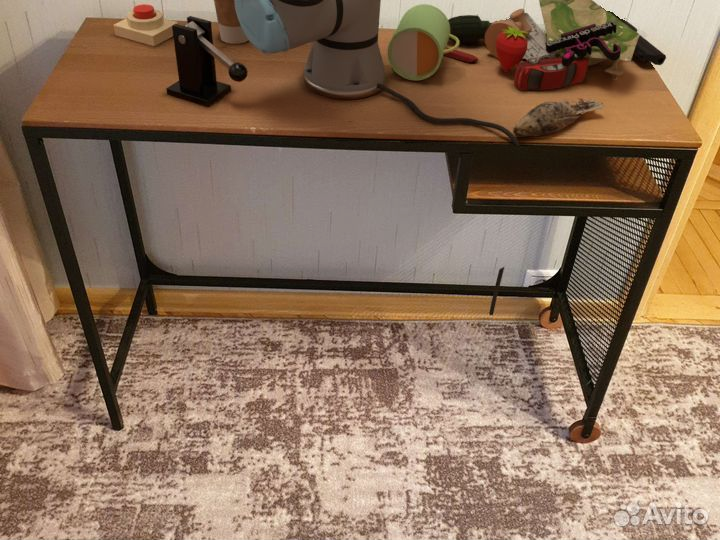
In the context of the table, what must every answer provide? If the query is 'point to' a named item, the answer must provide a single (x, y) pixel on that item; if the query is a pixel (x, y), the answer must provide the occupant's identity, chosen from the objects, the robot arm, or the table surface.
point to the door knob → (503, 24)
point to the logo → (585, 47)
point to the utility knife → (461, 55)
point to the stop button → (144, 11)
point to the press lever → (220, 56)
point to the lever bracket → (195, 66)
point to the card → (577, 10)
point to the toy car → (549, 73)
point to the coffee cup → (229, 22)
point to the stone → (536, 42)
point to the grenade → (468, 28)
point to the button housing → (145, 28)
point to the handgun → (645, 48)
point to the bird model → (552, 117)
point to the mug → (420, 42)
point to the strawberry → (511, 47)
